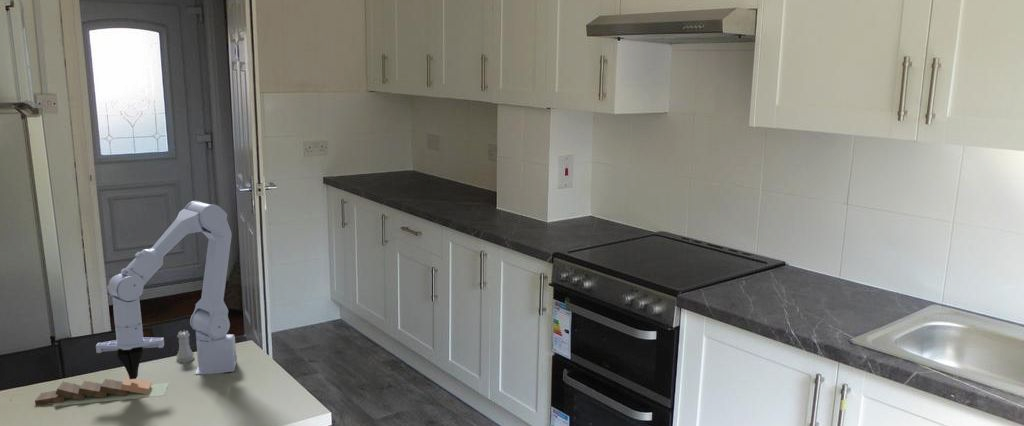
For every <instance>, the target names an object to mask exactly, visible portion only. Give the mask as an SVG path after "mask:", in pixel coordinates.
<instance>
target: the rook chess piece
mask: <svg viewBox="0 0 1024 426" xmlns="http://www.w3.org/2000/svg"><path fill="white" fill-rule="evenodd" d="M190 335H191V334H190V333H189V330H183V331H182V330H180V331H178V332H177V335H176V337H177V339H178V344H179V346H178V352H177V354H176V361H177V362H178V363H187V362H191V361H193V360H194V359H195V356H194V355H195V354H194V352H193V351H192V349H191V346H190V345H191V344H190Z"/></svg>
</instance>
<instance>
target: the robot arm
mask: <svg viewBox="0 0 1024 426" xmlns="http://www.w3.org/2000/svg"><path fill="white" fill-rule="evenodd" d="M200 232H201V233H202V234H203V235H204V236H205V237H206V238H207V239H208V242H207V251H206V259H205V266H204V273H203V283H202V288H201V289H202V290H201V295H200V296H201V298H200V299H199V300H198V301H197V302H196V303H195V307H194V310H193V313H192V314H191V316H190V319H189V324H190V327H191V328H192V330H194V331H195V340H196V341H195V343H196V353H197V355H196V356H197V363H198V364H197V368H196V370H195V373H194V375H196V376H200V375H210V374H211V375H212V374H220V373H231V372H235V368H236V367H237V366H236V365H237V362H238V358H237V356H238V355H237V349H236V337H235V334H233V333H232V334H230V333H228V332H229V330H230V327H231V323H230V319H229V309H228V307H227V305H226V303H225V300H224V299H225V291H226V283H227V275H228V267H229V259H230V253H231V252H230V251H231V243H232V230H231V228H230V225H229V222H228V213H227V212H226V211H225V210H224V209H223V208H222V207H220V206H219V205H217V204H210V203H206V202H203V201H199V200H192V201H190V202H188V203H187V204H186V205H185V207H184V208H182V209H181V210H180V211H179V212H178V215H177V216H176V218H175V220H174V221H173V222H172V223H171V224H170V225H169V227H168V228H167V229H166V230H165V232H164V233H163V234H162V235H161V236H160V237H159V238H158V240H157V241H156V242H155V243H154V245H153V246H152V247H151V248H144V249H142V250H141V251H137V252H136V253H135V254H134V259H132V261H131V262H130V263H129V264H127V266H126V267H125V268H122V269H121V270H120V273H118V274H115V275H114V276H112V277H111V278H110V279H109V281H108V284H107V286H106V291H107V293H108V294H109V295H110V296H111V297H112V307H113V308H112V309H113V310H112V311H113V319H114V327H115V337H116V339H115V340H109V341H103V342H97V344H96V345H95V349H96V354H101V353H103V352H114V351H115V352H116V351H117V354H116V356H117V359H118V360H120V362H121V363H122V366H124V368H125V370H126V372H127V376H128V377H129V378H130V379H138V378H137V377H138V376H139V374H138V373H139V366H140V362H141V359H142V356H143V353H144V351H145V349H150V348H151V349H153V348H158V349H162V348H164V346H165V338H164V337H147V336H145V337H144V332H143V331H144V330H143V322H142V312H141V311H142V310H141V303H140V302H141V301H140V297H141V296H142V295H143V292H144V286H145V285H147V284H146V283H147V282H148V281H149V280H150V279H151V278H152V277H153V276H154V275H155V273H156V272H157V271H158V270H159V269H161V267H162V266H163V264H164V257H165V256H166V255H167V254H169V252H170V251H171V250H172V249H173V248H175V246H176V245H178V243H179V242H181V240H183V238H184V237H186V235H189V234H194V233H200Z"/></svg>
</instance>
